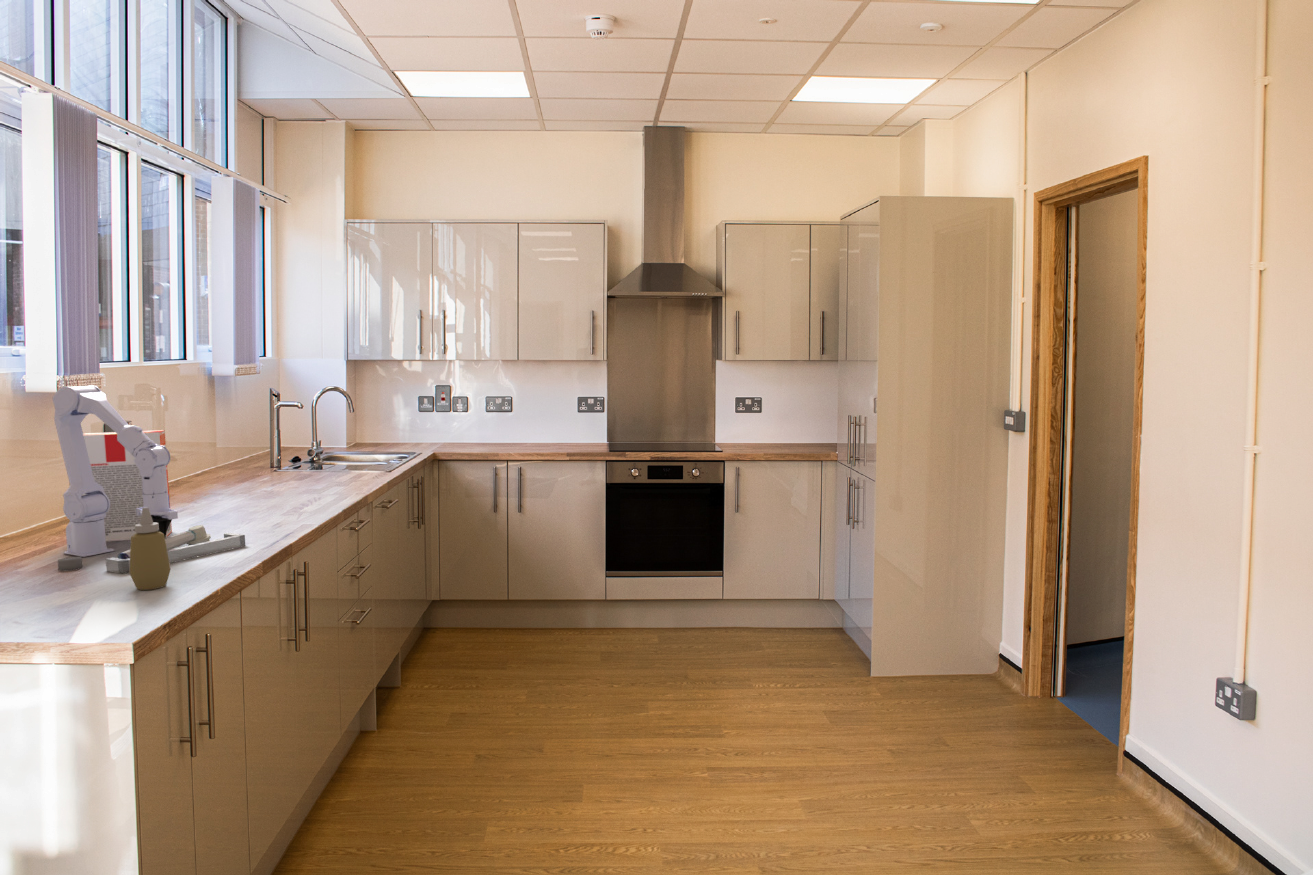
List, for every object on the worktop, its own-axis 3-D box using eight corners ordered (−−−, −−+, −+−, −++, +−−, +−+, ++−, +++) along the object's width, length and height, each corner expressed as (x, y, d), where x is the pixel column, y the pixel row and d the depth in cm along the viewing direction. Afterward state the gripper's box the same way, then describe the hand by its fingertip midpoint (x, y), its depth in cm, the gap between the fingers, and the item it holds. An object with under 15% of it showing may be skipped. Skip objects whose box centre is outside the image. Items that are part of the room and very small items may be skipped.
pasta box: (171, 531, 265) (164, 430, 262) (167, 536, 257) (159, 432, 254) (82, 538, 257) (73, 433, 254) (74, 543, 250) (65, 436, 247)
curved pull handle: (106, 570, 218) (105, 558, 217) (229, 543, 246) (229, 532, 246) (122, 573, 214) (121, 561, 214) (245, 545, 243) (244, 534, 243)
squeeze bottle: (128, 593, 196) (121, 512, 195) (133, 585, 204) (127, 506, 202) (170, 589, 200) (164, 509, 198) (173, 580, 207) (167, 503, 205)
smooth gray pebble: (54, 570, 220) (53, 560, 220) (75, 565, 224) (75, 555, 224) (65, 572, 217) (64, 562, 217) (87, 567, 222) (86, 557, 221)
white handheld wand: (113, 551, 222) (197, 519, 244) (119, 576, 223) (202, 542, 246) (129, 553, 220) (212, 520, 242) (134, 578, 221) (216, 543, 244)
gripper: (123, 493, 233) (127, 544, 234) (157, 497, 226) (161, 550, 227) (149, 489, 239) (153, 539, 240) (183, 492, 232) (187, 544, 233)
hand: (159, 544), depth 234 cm, fingers closed
